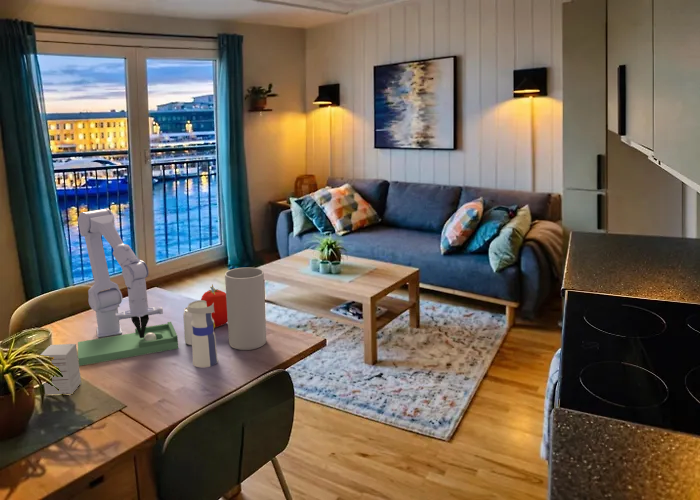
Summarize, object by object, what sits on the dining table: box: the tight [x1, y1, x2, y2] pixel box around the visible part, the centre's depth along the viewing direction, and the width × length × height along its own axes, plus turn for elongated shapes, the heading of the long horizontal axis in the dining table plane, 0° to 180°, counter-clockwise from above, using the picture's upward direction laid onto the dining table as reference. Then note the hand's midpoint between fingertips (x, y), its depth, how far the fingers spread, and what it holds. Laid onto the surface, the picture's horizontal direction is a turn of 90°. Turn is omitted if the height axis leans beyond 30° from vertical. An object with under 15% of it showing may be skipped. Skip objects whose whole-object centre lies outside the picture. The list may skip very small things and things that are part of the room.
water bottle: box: [186, 283, 219, 369], centre depth 175 cm, size 8×9×25 cm
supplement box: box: [40, 343, 82, 395], centre depth 159 cm, size 7×7×13 cm
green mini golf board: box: [77, 321, 179, 367], centre depth 187 cm, size 14×30×4 cm, turn 115°
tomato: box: [200, 288, 228, 328], centre depth 205 cm, size 13×11×14 cm
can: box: [182, 307, 193, 346], centre depth 191 cm, size 6×6×12 cm
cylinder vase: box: [224, 267, 267, 351], centre depth 188 cm, size 12×12×25 cm
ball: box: [144, 333, 157, 341], centre depth 191 cm, size 4×4×4 cm
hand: (141, 336), depth 188 cm, fingers closed
